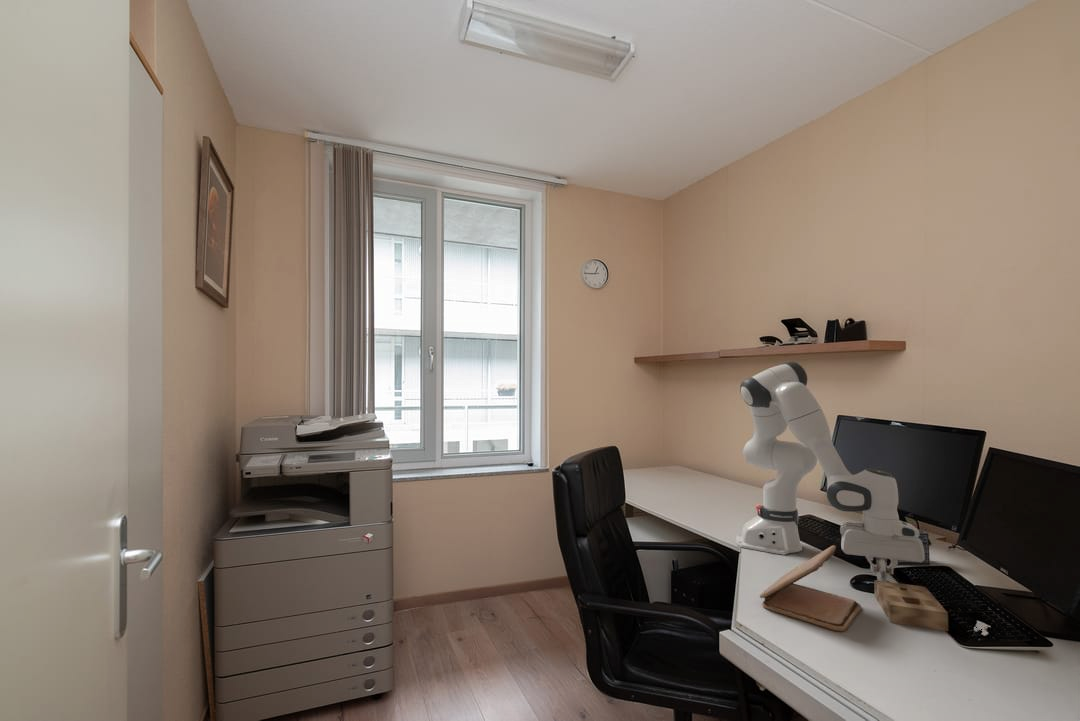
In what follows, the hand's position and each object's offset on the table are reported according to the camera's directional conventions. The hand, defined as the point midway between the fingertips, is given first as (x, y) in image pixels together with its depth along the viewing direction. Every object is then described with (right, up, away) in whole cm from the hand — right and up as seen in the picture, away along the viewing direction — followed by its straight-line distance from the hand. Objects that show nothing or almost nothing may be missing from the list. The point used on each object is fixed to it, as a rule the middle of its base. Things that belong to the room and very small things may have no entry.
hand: (881, 572), depth 144 cm
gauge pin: (0, -5, 0) cm, 5 cm away
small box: (+24, -6, +22) cm, 33 cm away
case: (-27, -6, -10) cm, 29 cm away
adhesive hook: (+9, -5, -24) cm, 26 cm away
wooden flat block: (-2, -5, -13) cm, 14 cm away
